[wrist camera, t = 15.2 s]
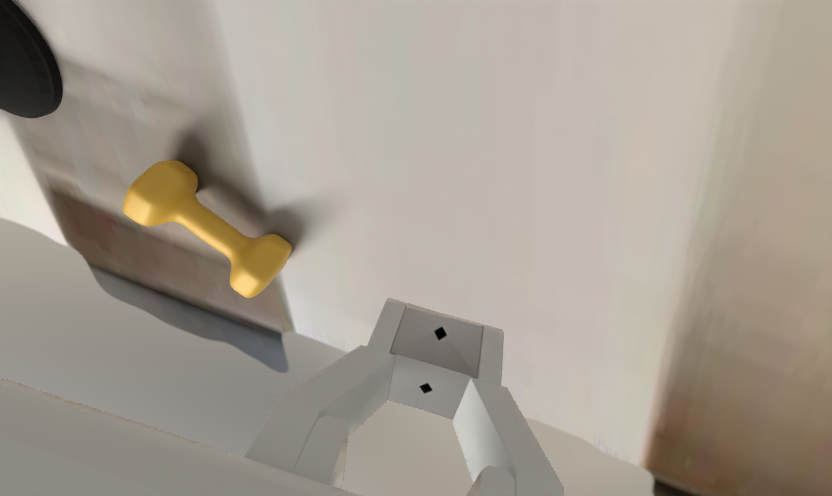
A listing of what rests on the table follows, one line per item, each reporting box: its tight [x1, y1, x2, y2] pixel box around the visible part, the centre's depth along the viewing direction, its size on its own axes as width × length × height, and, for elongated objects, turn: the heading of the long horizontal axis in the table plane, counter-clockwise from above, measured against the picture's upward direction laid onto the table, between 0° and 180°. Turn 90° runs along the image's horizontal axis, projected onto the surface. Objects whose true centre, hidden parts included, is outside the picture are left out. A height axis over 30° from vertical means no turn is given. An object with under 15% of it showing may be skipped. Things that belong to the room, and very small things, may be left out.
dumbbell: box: [123, 160, 292, 298], centre depth 49 cm, size 19×9×8 cm, turn 49°
